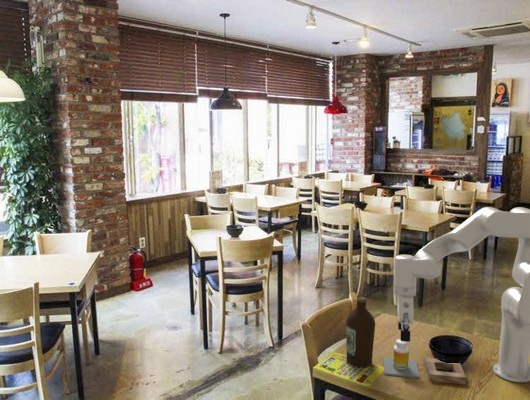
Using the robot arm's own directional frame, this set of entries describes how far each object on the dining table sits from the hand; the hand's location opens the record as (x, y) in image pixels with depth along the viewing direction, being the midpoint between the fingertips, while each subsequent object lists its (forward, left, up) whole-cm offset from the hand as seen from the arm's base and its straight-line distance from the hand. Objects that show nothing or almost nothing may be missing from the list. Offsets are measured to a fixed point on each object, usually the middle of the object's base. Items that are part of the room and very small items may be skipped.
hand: (403, 335), depth 170 cm
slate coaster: (+1, 0, -13) cm, 13 cm away
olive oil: (+16, -2, -13) cm, 20 cm away
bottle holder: (-14, +1, -13) cm, 19 cm away
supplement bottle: (+1, 0, -12) cm, 12 cm away
